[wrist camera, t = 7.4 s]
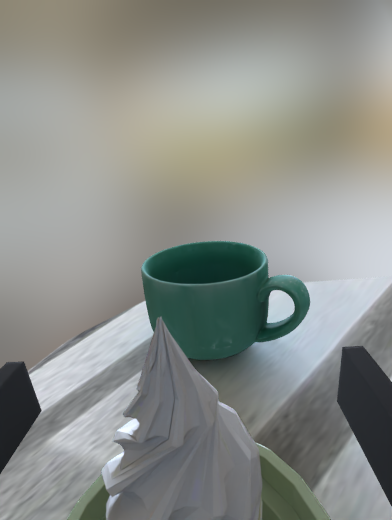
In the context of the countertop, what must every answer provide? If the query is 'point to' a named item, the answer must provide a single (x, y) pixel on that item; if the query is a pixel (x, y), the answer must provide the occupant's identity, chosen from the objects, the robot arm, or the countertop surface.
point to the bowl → (273, 494)
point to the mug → (217, 297)
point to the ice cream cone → (181, 448)
